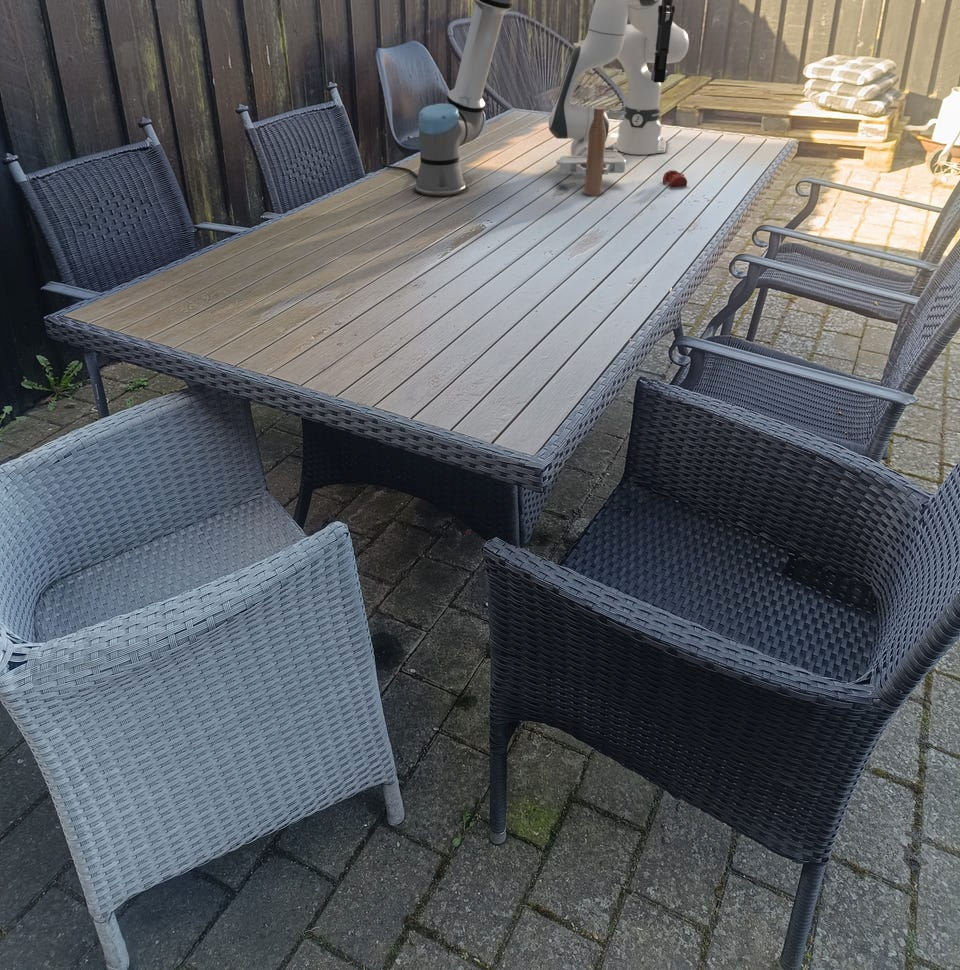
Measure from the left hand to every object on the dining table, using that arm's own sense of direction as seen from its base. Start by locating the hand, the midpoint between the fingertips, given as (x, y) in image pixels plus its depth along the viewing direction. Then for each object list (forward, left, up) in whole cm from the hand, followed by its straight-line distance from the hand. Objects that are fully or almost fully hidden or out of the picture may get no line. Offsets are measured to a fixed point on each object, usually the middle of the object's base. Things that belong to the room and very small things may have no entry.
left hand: (658, 80), depth 227 cm
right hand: (-17, -1, -27) cm, 32 cm away
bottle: (-18, 0, -33) cm, 38 cm away
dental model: (-3, +23, -33) cm, 40 cm away
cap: (0, 0, +2) cm, 2 cm away
